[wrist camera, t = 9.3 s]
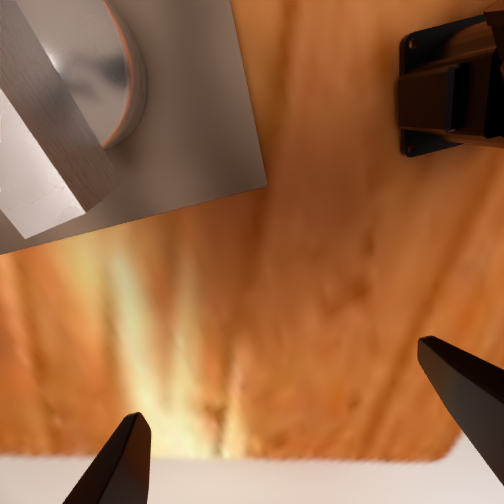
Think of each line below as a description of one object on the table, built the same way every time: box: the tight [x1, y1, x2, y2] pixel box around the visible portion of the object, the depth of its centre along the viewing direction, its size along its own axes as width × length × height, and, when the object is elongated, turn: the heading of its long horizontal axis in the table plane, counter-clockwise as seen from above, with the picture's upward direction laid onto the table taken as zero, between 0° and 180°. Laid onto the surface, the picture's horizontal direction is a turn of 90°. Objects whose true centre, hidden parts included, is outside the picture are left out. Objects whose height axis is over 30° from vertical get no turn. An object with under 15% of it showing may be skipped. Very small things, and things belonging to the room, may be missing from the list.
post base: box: [0, 0, 268, 255], centre depth 15 cm, size 16×15×2 cm
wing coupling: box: [0, 0, 148, 239], centre depth 10 cm, size 12×7×8 cm, turn 21°
